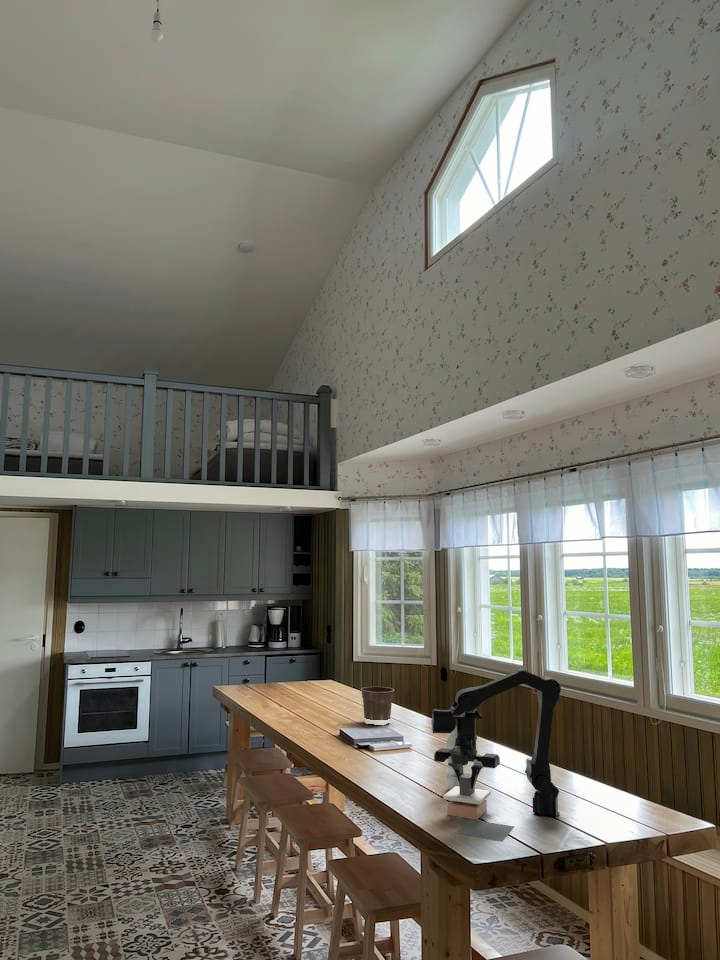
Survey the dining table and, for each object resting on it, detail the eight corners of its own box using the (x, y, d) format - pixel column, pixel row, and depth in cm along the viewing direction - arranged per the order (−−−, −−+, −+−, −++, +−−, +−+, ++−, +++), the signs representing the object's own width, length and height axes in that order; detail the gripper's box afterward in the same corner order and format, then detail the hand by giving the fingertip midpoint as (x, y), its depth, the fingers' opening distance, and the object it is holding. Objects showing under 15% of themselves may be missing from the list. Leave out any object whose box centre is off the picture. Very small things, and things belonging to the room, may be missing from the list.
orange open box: (486, 813, 215) (486, 799, 216) (477, 822, 207) (477, 808, 208) (458, 809, 219) (457, 795, 220) (447, 818, 211) (447, 803, 212)
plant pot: (401, 725, 343) (400, 690, 345) (371, 728, 335) (371, 692, 337) (382, 719, 357) (382, 685, 359) (354, 722, 349) (354, 687, 351)
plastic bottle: (463, 787, 241) (463, 725, 244) (467, 793, 234) (466, 729, 237) (444, 787, 241) (444, 725, 244) (447, 793, 234) (447, 729, 237)
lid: (490, 794, 216) (490, 773, 217) (479, 804, 207) (479, 782, 207) (455, 789, 221) (455, 769, 222) (443, 799, 211) (443, 777, 212)
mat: (514, 828, 202) (514, 826, 202) (502, 843, 190) (502, 841, 190) (469, 821, 207) (469, 819, 207) (455, 835, 196) (455, 833, 196)
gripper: (427, 735, 213) (427, 791, 211) (489, 742, 205) (490, 799, 203) (440, 728, 223) (440, 781, 221) (499, 734, 215) (500, 789, 213)
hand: (467, 788), depth 214 cm, fingers closed on lid, 3 cm apart
